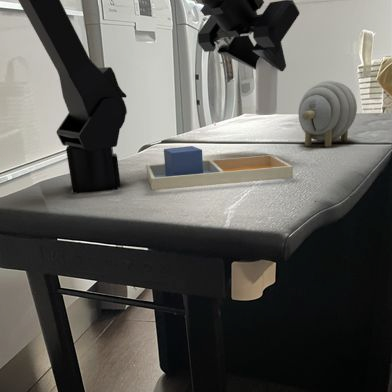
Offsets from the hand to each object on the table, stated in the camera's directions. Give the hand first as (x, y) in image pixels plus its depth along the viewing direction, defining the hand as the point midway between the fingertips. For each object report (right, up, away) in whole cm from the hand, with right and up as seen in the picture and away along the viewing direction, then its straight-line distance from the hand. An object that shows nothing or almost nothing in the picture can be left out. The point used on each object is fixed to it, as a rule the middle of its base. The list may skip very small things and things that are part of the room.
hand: (273, 69), depth 89 cm
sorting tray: (-10, -20, -8) cm, 24 cm away
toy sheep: (+12, -6, +18) cm, 23 cm away
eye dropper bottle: (-1, -6, +2) cm, 7 cm away
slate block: (-14, -21, -10) cm, 27 cm away
